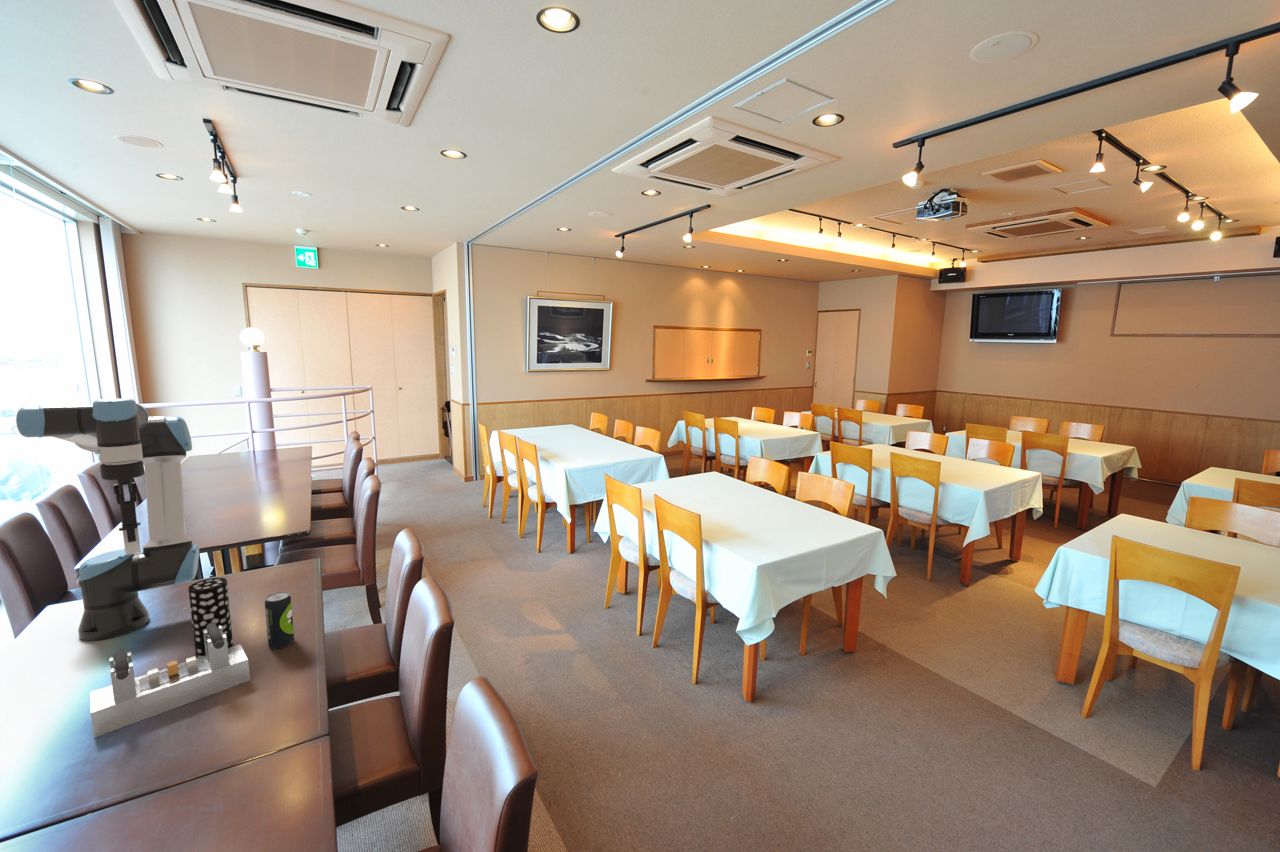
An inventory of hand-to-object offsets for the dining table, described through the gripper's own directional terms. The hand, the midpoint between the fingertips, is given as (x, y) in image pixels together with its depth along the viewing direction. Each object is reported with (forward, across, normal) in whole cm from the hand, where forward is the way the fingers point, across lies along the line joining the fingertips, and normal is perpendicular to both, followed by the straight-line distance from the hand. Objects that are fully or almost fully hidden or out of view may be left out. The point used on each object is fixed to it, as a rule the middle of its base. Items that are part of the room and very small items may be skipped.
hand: (133, 552), depth 129 cm
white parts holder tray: (+34, +15, +4) cm, 38 cm away
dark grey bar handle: (+22, +15, -4) cm, 27 cm away
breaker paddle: (+28, +15, +4) cm, 32 cm away
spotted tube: (+35, -4, +14) cm, 38 cm away
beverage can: (+35, +6, +28) cm, 45 cm away
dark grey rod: (+22, +15, +12) cm, 30 cm away
